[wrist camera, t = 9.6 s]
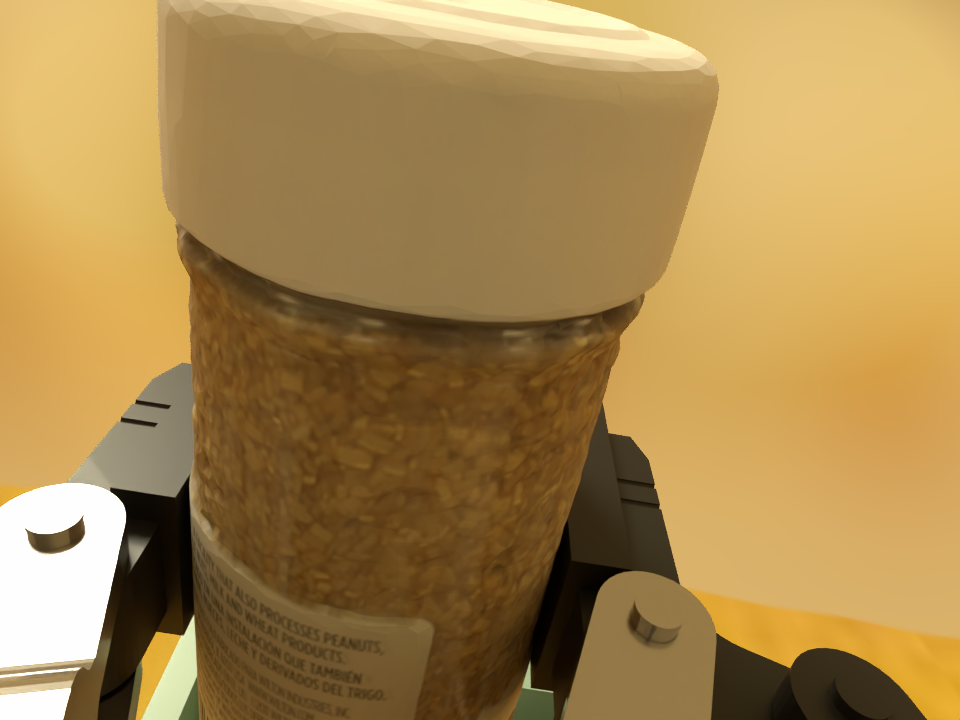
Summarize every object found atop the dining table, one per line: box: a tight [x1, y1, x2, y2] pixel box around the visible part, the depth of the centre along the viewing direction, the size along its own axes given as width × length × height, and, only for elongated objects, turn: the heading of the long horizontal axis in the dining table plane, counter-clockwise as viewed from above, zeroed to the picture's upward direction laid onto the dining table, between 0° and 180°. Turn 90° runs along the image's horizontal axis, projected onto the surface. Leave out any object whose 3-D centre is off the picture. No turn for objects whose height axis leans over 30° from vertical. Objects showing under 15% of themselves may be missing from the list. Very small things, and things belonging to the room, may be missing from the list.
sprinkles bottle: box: [157, 0, 719, 720], centre depth 9 cm, size 5×5×13 cm
